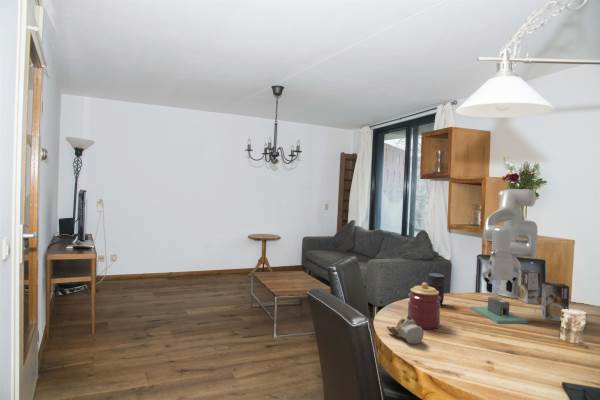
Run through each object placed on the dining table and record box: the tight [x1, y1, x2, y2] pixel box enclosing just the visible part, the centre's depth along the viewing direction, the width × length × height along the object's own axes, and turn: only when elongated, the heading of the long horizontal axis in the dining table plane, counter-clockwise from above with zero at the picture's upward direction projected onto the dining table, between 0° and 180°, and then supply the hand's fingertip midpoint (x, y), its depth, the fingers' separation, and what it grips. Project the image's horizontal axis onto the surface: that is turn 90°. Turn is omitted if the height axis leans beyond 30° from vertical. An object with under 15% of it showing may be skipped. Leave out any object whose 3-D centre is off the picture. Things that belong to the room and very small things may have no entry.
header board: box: [470, 306, 528, 324], centre depth 175 cm, size 20×14×4 cm
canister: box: [406, 281, 442, 330], centre depth 159 cm, size 13×13×18 cm
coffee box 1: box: [517, 269, 541, 305], centre depth 202 cm, size 9×6×16 cm
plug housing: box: [487, 296, 510, 316], centre depth 175 cm, size 9×4×6 cm, turn 7°
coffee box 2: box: [540, 281, 570, 322], centre depth 173 cm, size 9×6×16 cm
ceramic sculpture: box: [386, 317, 425, 345], centre depth 142 cm, size 11×9×15 cm
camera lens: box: [426, 272, 446, 307], centre depth 189 cm, size 8×8×15 cm
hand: (499, 291), depth 175 cm, fingers open, 9 cm apart
